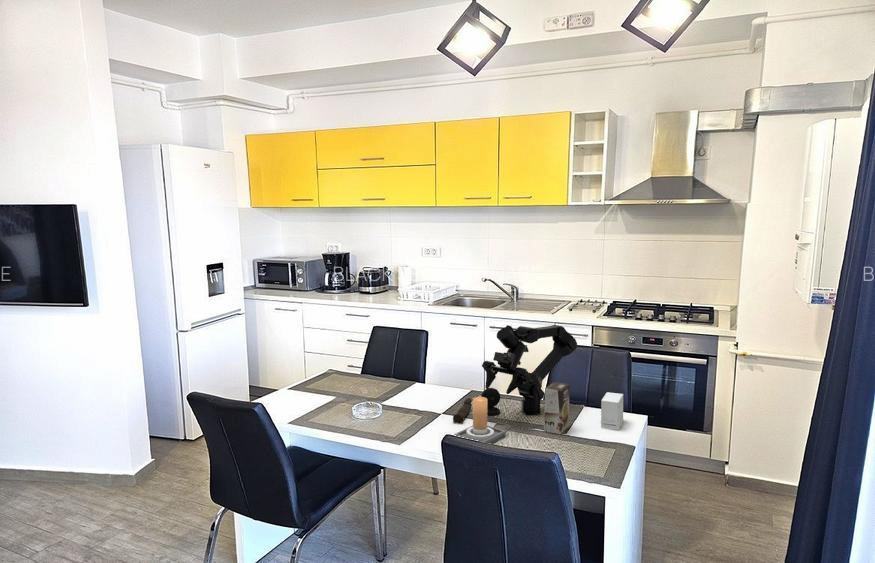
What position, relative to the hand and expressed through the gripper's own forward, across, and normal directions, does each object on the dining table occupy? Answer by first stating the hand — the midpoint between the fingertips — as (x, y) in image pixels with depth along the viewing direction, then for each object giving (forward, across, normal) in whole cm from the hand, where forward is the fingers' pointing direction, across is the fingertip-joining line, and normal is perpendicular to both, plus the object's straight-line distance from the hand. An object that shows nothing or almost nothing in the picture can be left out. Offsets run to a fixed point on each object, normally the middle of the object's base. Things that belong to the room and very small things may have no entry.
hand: (496, 391), depth 204 cm
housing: (+18, +2, +1) cm, 18 cm away
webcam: (+2, -10, +17) cm, 20 cm away
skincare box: (-11, +31, +31) cm, 45 cm away
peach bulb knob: (+17, +2, 0) cm, 17 cm away
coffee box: (+1, +18, +19) cm, 26 cm away
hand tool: (+9, -17, +11) cm, 22 cm away
